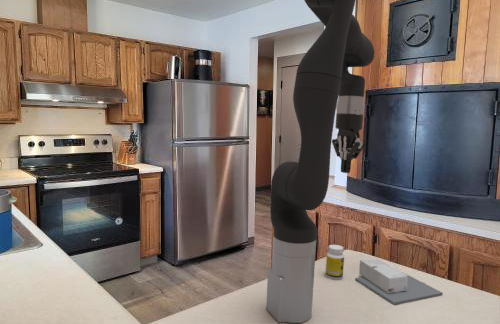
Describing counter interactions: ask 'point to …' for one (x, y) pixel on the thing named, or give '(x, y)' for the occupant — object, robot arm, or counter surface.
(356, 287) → the counter surface
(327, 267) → the supplement bottle
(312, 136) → the robot arm
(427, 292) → the slate mat
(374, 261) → the skincare box
